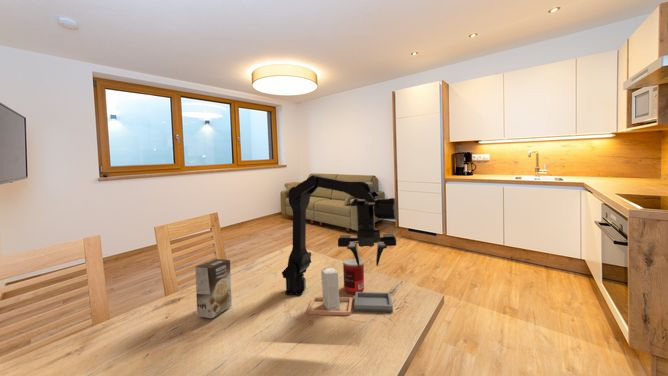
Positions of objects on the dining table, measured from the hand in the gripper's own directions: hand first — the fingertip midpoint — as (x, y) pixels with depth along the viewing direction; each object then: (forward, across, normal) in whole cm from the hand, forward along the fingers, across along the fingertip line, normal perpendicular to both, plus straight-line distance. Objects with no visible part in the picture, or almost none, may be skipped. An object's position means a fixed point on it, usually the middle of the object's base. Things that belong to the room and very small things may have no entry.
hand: (368, 266), depth 91 cm
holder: (+13, -13, -2) cm, 18 cm away
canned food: (+13, -6, +12) cm, 19 cm away
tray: (+13, +1, +1) cm, 13 cm away
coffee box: (+12, -51, -8) cm, 53 cm away
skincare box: (+13, -13, -2) cm, 18 cm away
